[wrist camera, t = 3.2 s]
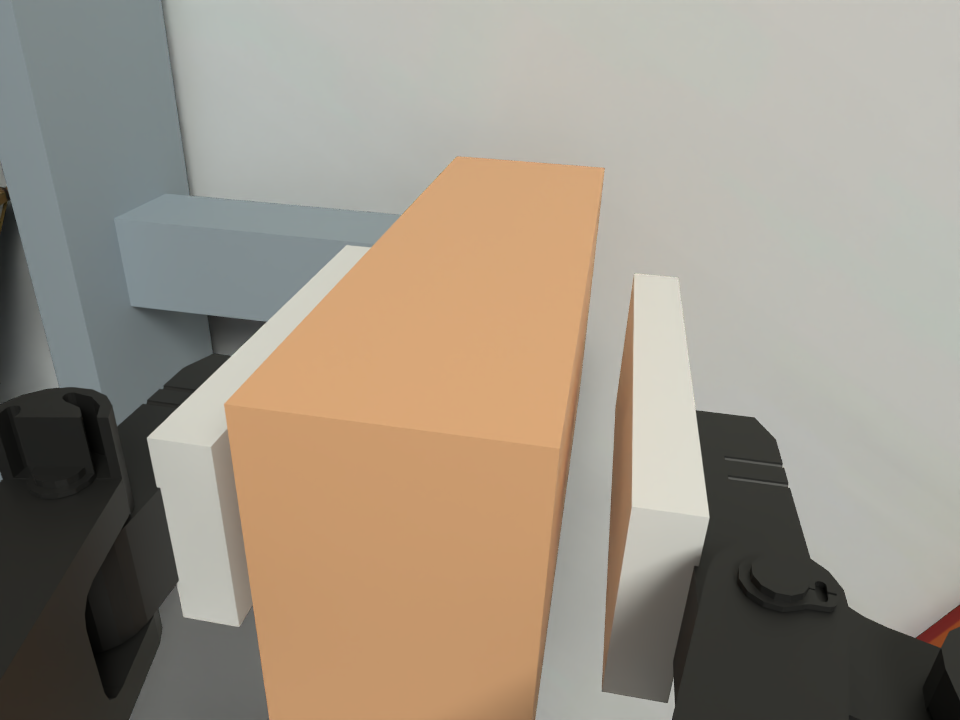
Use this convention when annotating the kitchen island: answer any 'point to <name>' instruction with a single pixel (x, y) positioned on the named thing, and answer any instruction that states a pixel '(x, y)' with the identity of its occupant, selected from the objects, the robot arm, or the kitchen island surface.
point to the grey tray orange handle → (324, 370)
